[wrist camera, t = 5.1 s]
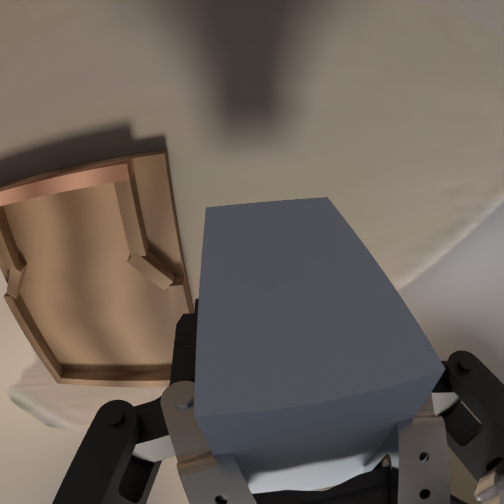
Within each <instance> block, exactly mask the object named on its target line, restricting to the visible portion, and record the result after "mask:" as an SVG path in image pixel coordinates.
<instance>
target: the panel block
mask: <svg viewBox="0 0 504 504" xmlns="http://www.w3.org/2000/svg"><path fill="white" fill-rule="evenodd" d="M444 371H445V367H444V366H443V364H442V362H441V360H440V359H439V357H438V355H437V354H436V352H435V350H434V349H433V347H432V345H431V344H430V342H429V340H428V339H427V337H426V335H425V334H424V332H423V331H422V329H421V327H420V326H419V324H418V323H417V321H416V319H415V318H414V316H413V315H412V313H411V312H410V310H409V309H408V307H407V306H406V304H405V303H404V301H403V300H402V298H401V297H400V295H399V294H398V292H397V291H396V289H395V288H394V286H393V285H392V283H391V282H390V280H389V279H388V277H387V276H386V275H385V273H384V272H383V270H382V269H381V268H380V266H379V265H378V263H377V262H376V261H375V259H374V258H373V256H372V255H371V254H370V252H369V251H368V249H367V248H366V247H365V245H364V244H363V243H362V241H361V240H360V239H359V237H358V236H357V235H356V233H355V232H354V231H353V229H352V228H351V227H350V225H349V224H348V223H347V222H346V220H345V219H344V218H343V216H342V215H341V214H340V213H339V211H338V210H337V209H336V207H335V206H334V205H333V204H332V202H331V201H330V200H329V199H328V197H324V198H309V199H295V200H282V201H270V202H258V203H247V204H237V205H226V206H217V207H207V208H206V214H205V225H204V236H203V248H202V260H201V274H200V288H199V304H198V321H197V341H196V365H195V399H194V417H195V419H196V421H197V423H198V426H199V428H200V430H201V432H202V434H203V436H204V438H205V440H206V442H207V444H208V446H209V448H210V450H211V452H212V454H213V455H221V454H230V453H232V454H233V456H234V458H235V460H236V463H237V465H238V467H239V469H240V471H241V473H242V475H243V477H244V479H245V481H246V483H247V485H248V487H249V489H250V491H251V493H252V494H254V493H264V492H273V491H281V490H301V491H311V490H315V489H320V488H325V487H330V486H334V485H339V484H341V483H343V482H345V481H347V480H349V479H351V478H353V477H355V476H357V475H359V474H363V468H364V466H365V464H366V463H367V462H368V461H369V459H370V458H371V457H372V456H373V454H374V453H375V452H376V451H377V449H378V448H379V447H380V445H381V444H382V443H383V441H384V440H385V438H386V437H387V436H388V434H389V433H390V432H391V430H392V429H393V427H394V426H395V424H396V423H397V422H398V421H402V420H406V419H410V418H413V417H414V416H415V415H416V413H417V412H418V411H419V409H420V408H421V406H422V405H423V403H424V402H425V400H426V399H427V397H428V396H429V394H430V393H431V391H432V390H433V388H434V387H435V385H436V384H437V382H438V380H439V379H440V377H441V376H442V374H443V372H444Z"/></svg>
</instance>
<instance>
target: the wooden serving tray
mask: <svg viewBox="0 0 504 504" xmlns="http://www.w3.org/2000/svg"><path fill="white" fill-rule="evenodd" d="M0 268H1V271H2V273H3V275H4V277H5V279H6V282H7V284H8V287H7V293H6V294H5V295H4V298H5V300H6V302H7V304H8V306H9V308H10V310H11V312H12V313H13V315H14V317H15V319H16V320H17V322H18V324H19V326H20V327H21V329H22V330H23V332H24V334H25V336H26V337H27V339H28V341H29V342H30V344H31V345H32V347H33V349H34V350H35V352H36V353H37V355H38V356H39V358H40V359H41V361H42V362H43V364H44V365H45V367H46V368H47V369H48V371H49V372H50V374H51V375H52V376H53V378H54V379H55V381H56V382H57V383H59V384H72V385H87V386H109V387H169V384H170V377H171V367H172V357H173V348H174V339H175V331H176V324H177V322H178V321H179V319H180V318H181V316H182V315H183V314H187V313H194V309H193V304H192V300H191V295H190V290H189V285H188V279H187V274H186V269H185V264H184V258H183V253H182V247H181V241H180V235H179V230H178V223H177V217H176V211H175V204H174V198H173V191H172V184H171V177H170V170H169V162H168V154H167V150H162V151H155V152H148V153H142V154H135V155H129V156H123V157H117V158H112V159H106V160H101V161H96V162H91V163H86V164H81V165H77V166H72V167H68V168H63V169H59V170H55V171H51V172H47V173H43V174H39V175H35V176H31V177H27V178H24V179H20V180H16V181H13V182H10V183H6V184H3V185H0Z"/></svg>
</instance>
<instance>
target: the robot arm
mask: <svg viewBox="0 0 504 504" xmlns="http://www.w3.org/2000/svg"><path fill="white" fill-rule="evenodd" d="M198 304H199V299H196V300H195V313H187V314H183V315H182V316H181V318H180V319H179V321H178V322H177V324H176V331H175V339H174V348H173V357H172V367H171V377H170V384H169V387H167V388H166V389H165V390H164V392H163V394H162V396H161V397H159V398H158V399H156V400H154V401H151V402H148V403H145V404H141V405H138V406H134V407H133V406H132V405H131V404H130V403H128V402H126V401H123V400H113V401H109V402H107V403H106V404H104V405H103V406H102V407H101V408H100V409H99V410H98V412H97V414H96V416H95V418H94V419H93V421H92V423H91V425H90V427H89V429H88V431H87V433H86V435H85V437H84V439H83V441H82V443H81V445H80V447H79V449H78V451H77V453H76V455H75V457H74V459H73V461H72V463H71V465H70V467H69V469H68V471H67V473H66V475H65V477H64V479H63V482H62V484H61V486H60V488H59V490H58V492H57V495H56V497H55V499H54V501H53V503H52V504H146V502H147V499H148V496H149V494H150V491H151V488H152V486H153V483H154V480H155V478H156V475H157V472H158V470H159V467H160V464H161V462H162V460H163V459H166V458H170V457H173V456H176V457H177V461H178V463H177V469H178V473H179V476H180V479H181V482H182V485H183V488H184V490H185V493H186V496H187V498H188V501H189V503H190V504H468V503H466V502H464V501H462V500H460V499H458V498H456V497H455V496H453V495H451V494H450V479H449V478H450V476H449V460H448V449H447V445H448V446H449V447H450V448H451V449H452V451H453V452H454V453H455V454H456V456H457V457H458V458H459V459H460V461H461V462H462V463H463V464H464V465H465V467H466V468H467V469H468V470H469V472H470V473H471V474H472V475H473V477H474V478H475V479H476V480H477V482H478V487H477V489H476V491H475V498H476V499H478V500H481V502H482V504H504V384H503V383H502V382H500V380H499V379H498V378H497V377H496V376H495V375H494V374H493V373H492V372H491V371H490V370H489V369H488V368H487V367H486V366H484V365H483V363H482V362H481V361H480V360H479V359H478V358H476V357H475V356H474V355H473V354H472V353H469V352H466V351H456V352H454V353H452V354H451V355H450V357H449V359H448V360H447V361H441V362H442V364H443V366H444V367H445V371H444V372H443V374H442V376H441V377H440V379H439V380H438V382H437V384H436V385H435V387H434V388H433V390H432V391H431V393H430V394H429V396H428V397H427V399H426V400H425V402H424V403H423V405H422V406H421V408H420V409H419V411H418V412H417V413H416V415H415V416H414V417H413V418H410V419H406V420H402V421H398V422H397V423H396V424H395V426H394V427H393V429H392V430H391V432H390V433H389V434H388V436H387V437H386V438H385V440H384V441H383V443H382V444H381V445H380V447H379V448H378V449H377V451H376V452H375V453H374V454H373V456H372V457H371V458H370V459H369V461H368V462H367V463H366V464H365V466H364V468H363V474H359V475H357V476H355V477H353V478H351V479H349V480H347V481H345V482H343V483H341V484H339V485H337V486H335V487H333V488H331V489H329V490H326V491H301V490H281V491H273V492H264V493H254V494H252V493H251V491H250V489H249V487H248V485H247V483H246V481H245V479H244V477H243V475H242V473H241V471H240V469H239V467H238V465H237V463H236V460H235V458H234V456H233V454H232V453H230V454H221V455H213V454H212V452H211V450H210V448H209V446H208V444H207V442H206V440H205V438H204V436H203V434H202V432H201V430H200V428H199V426H198V423H197V421H196V419H195V417H194V399H195V365H196V341H197V321H198ZM461 401H463V402H464V403H465V405H466V406H467V407H468V408H469V409H470V410H471V411H472V412H473V413H474V415H475V416H476V417H477V418H478V419H479V420H480V421H481V424H480V423H479V422H478V421H477V420H476V419H475V418H474V417H473V416H472V414H471V413H470V412H469V411H468V410H467V409H466V408H465V407H464V405H463V404H462V403H461Z"/></svg>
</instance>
